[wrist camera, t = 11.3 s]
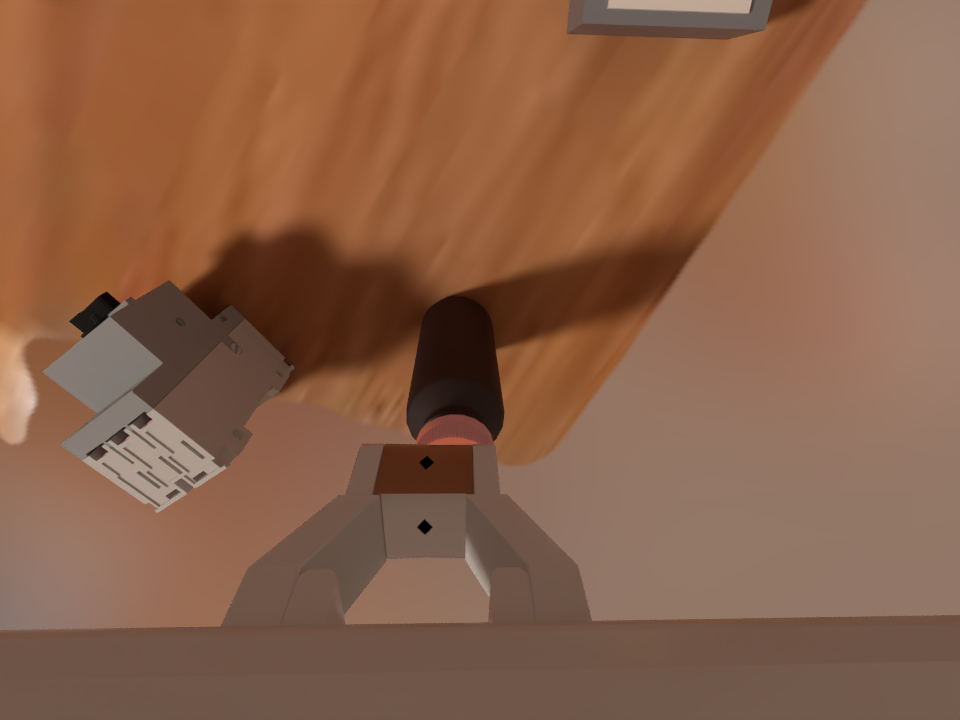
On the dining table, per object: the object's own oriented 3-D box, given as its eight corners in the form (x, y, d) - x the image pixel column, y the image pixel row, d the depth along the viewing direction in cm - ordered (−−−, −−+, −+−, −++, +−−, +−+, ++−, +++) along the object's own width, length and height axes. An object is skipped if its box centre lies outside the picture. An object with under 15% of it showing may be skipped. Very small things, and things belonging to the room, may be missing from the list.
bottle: (416, 352, 47) (388, 502, 29) (428, 288, 43) (406, 413, 26) (483, 364, 47) (495, 517, 30) (499, 303, 44) (525, 433, 27)
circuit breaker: (176, 250, 41) (41, 319, 28) (295, 367, 47) (230, 470, 34) (121, 297, 43) (-30, 382, 30) (241, 404, 49) (160, 514, 36)
